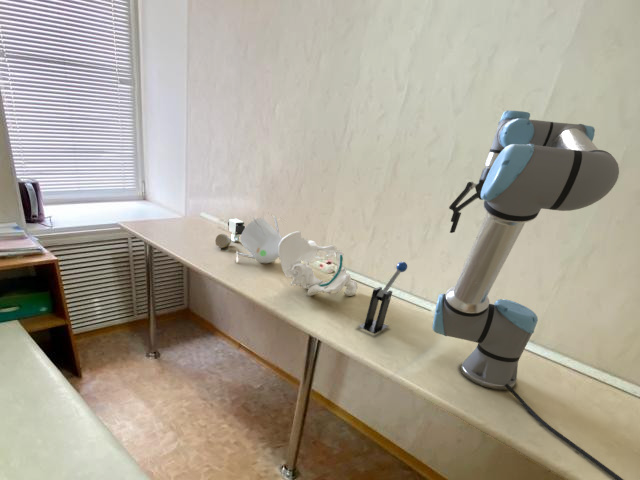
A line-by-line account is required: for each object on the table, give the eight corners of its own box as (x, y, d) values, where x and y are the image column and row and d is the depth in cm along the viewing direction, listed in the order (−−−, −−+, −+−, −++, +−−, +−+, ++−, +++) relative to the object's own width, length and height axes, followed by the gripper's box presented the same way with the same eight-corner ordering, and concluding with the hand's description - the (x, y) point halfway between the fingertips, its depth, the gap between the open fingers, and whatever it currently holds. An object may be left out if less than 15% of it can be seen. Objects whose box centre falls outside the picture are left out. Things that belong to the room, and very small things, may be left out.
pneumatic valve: (236, 244, 223) (237, 221, 217) (226, 238, 231) (227, 215, 225) (245, 243, 226) (247, 221, 219) (235, 237, 234) (236, 215, 227)
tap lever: (400, 264, 147) (399, 258, 144) (409, 267, 145) (409, 261, 142) (375, 299, 144) (374, 293, 141) (384, 303, 142) (383, 297, 139)
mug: (234, 245, 222) (235, 231, 213) (224, 256, 217) (224, 243, 209) (222, 239, 223) (223, 225, 214) (212, 250, 219) (212, 236, 210)
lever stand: (371, 321, 154) (381, 284, 146) (388, 328, 150) (399, 290, 143) (356, 329, 148) (366, 290, 140) (374, 336, 144) (385, 297, 136)
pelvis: (384, 263, 168) (350, 286, 149) (352, 301, 185) (318, 326, 166) (322, 207, 174) (282, 223, 155) (297, 250, 191) (258, 268, 172)
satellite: (270, 236, 179) (305, 233, 196) (243, 208, 185) (279, 208, 202) (249, 277, 194) (283, 271, 211) (224, 250, 200) (259, 246, 217)
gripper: (543, 175, 126) (513, 245, 137) (461, 162, 139) (440, 227, 151) (537, 176, 121) (507, 248, 132) (453, 162, 134) (432, 229, 146)
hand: (471, 237), depth 141 cm, fingers open, 13 cm apart
